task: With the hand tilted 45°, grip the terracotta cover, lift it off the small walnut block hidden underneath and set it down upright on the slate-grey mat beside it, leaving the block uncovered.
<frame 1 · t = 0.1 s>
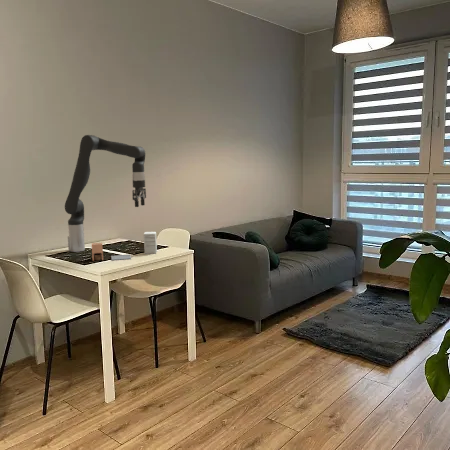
hand: (139, 206, 279), 29 cm above the table, tool pointing down, fingers open, 8 cm apart
supplement box: (150, 252, 284), on the table
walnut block: (97, 257, 266), in the terracotta cover
terracotta cover: (97, 259, 266), on the table
grey mat: (121, 257, 270), on the table
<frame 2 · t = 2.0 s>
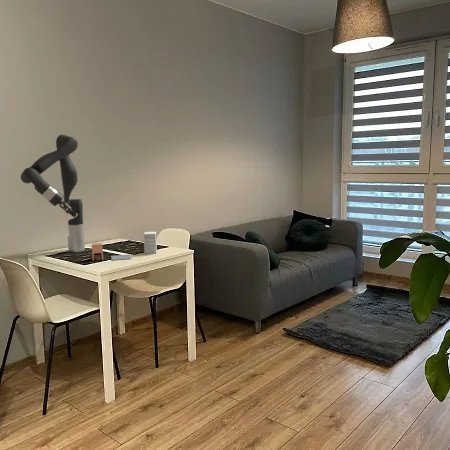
hand: (75, 215, 259), 27 cm above the table, tool tilted 45°, fingers open, 8 cm apart
nothing on the table moved.
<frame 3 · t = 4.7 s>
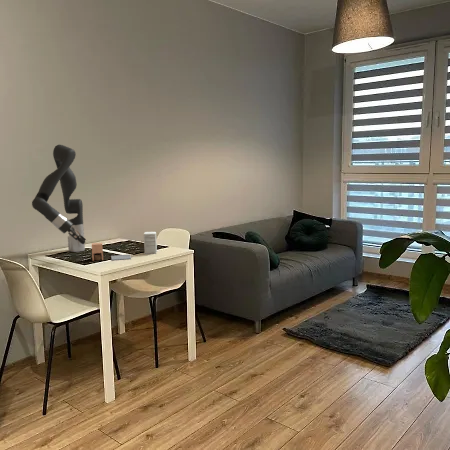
hand: (84, 241, 263), 11 cm above the table, tool tilted 45°, fingers open, 8 cm apart
nothing on the table moved.
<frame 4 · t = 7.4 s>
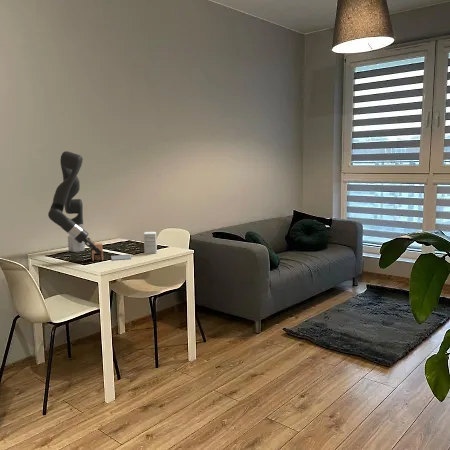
hand: (100, 252, 266), 4 cm above the table, tool tilted 45°, fingers closed on terracotta cover, 6 cm apart
terracotta cover: (97, 259, 266), on the table, touching gripper
everything else where it was.
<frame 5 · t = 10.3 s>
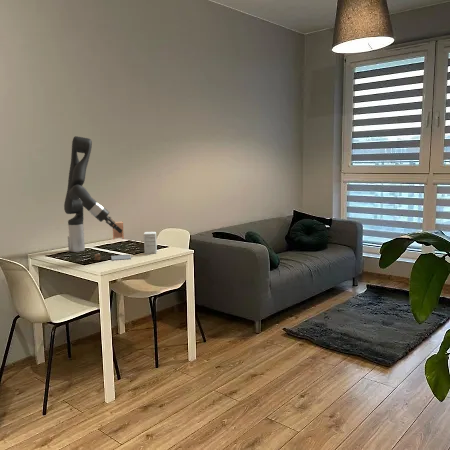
hand: (121, 231, 267), 16 cm above the table, tool tilted 45°, fingers closed on terracotta cover, 6 cm apart
terracotta cover: (118, 238, 267), point 12 cm above the table, touching gripper
everything else where it was.
when the fingers open (6 cm above the table, at t = 13.2 s): terracotta cover drops 1 cm, resting on grey mat.
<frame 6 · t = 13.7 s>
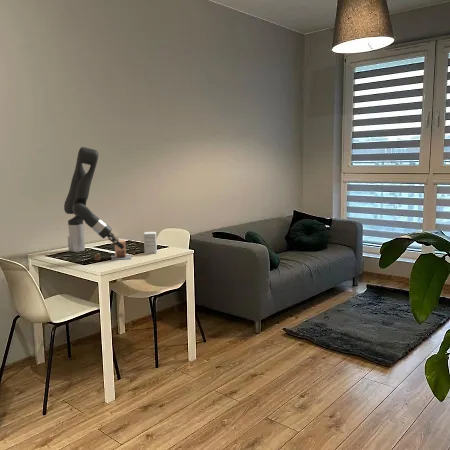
hand: (122, 246, 269), 7 cm above the table, tool tilted 45°, fingers open, 8 cm apart
terracotta cover: (120, 257, 270), resting on grey mat
everything else where it was.
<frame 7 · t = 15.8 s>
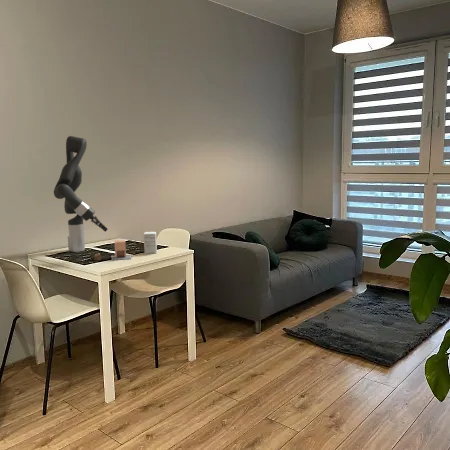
hand: (105, 229, 267), 17 cm above the table, tool tilted 45°, fingers open, 8 cm apart
nothing on the table moved.
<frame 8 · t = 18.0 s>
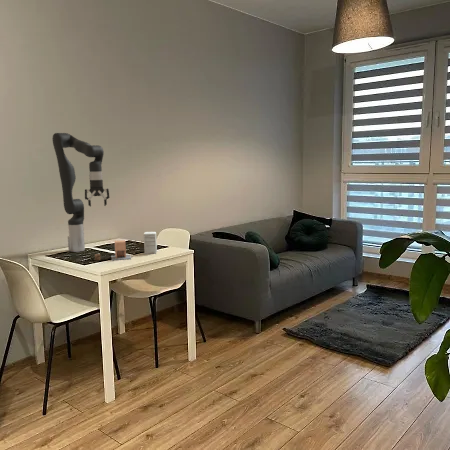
hand: (97, 206, 275), 30 cm above the table, tool pointing down, fingers open, 8 cm apart
nothing on the table moved.
at the end: terracotta cover inside the target area on the grey mat (0.1 cm from its centre), point 0.5 cm above the grey mat's base; terracotta cover tilted 0°; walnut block moved 0.1 cm from its start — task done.
